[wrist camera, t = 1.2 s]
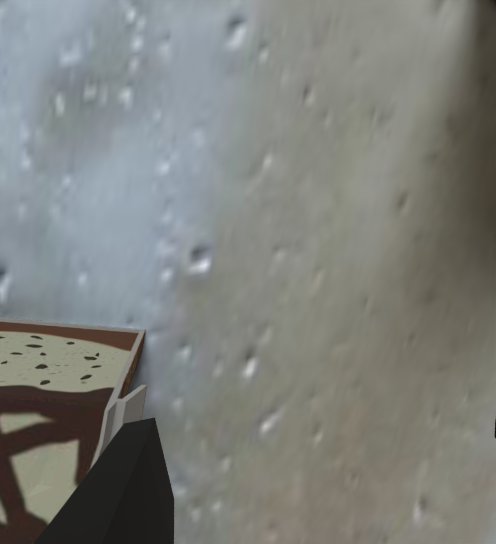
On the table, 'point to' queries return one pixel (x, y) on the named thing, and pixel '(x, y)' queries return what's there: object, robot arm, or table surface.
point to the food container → (58, 413)
